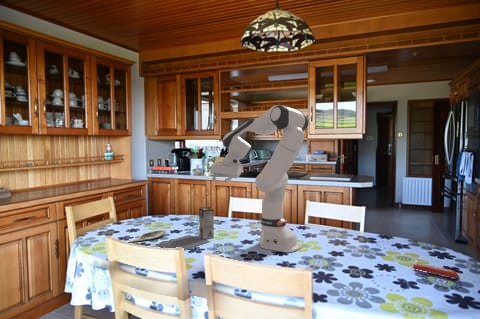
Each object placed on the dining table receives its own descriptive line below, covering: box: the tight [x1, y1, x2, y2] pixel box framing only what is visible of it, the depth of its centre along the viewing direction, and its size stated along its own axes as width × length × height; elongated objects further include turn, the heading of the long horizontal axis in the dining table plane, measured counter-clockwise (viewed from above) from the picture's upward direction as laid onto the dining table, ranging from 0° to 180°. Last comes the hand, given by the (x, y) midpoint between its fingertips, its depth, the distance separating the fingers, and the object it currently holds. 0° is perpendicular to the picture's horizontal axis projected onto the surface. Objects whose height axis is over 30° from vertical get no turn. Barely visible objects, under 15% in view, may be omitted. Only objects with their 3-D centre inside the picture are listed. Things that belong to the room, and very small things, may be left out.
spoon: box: [128, 229, 167, 244], centre depth 174 cm, size 35×11×2 cm, turn 139°
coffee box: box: [198, 206, 215, 240], centre depth 181 cm, size 9×6×16 cm
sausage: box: [412, 262, 460, 278], centre depth 128 cm, size 16×4×3 cm, turn 49°
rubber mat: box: [155, 234, 211, 251], centre depth 169 cm, size 18×22×1 cm
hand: (219, 181), depth 188 cm, fingers open, 8 cm apart
